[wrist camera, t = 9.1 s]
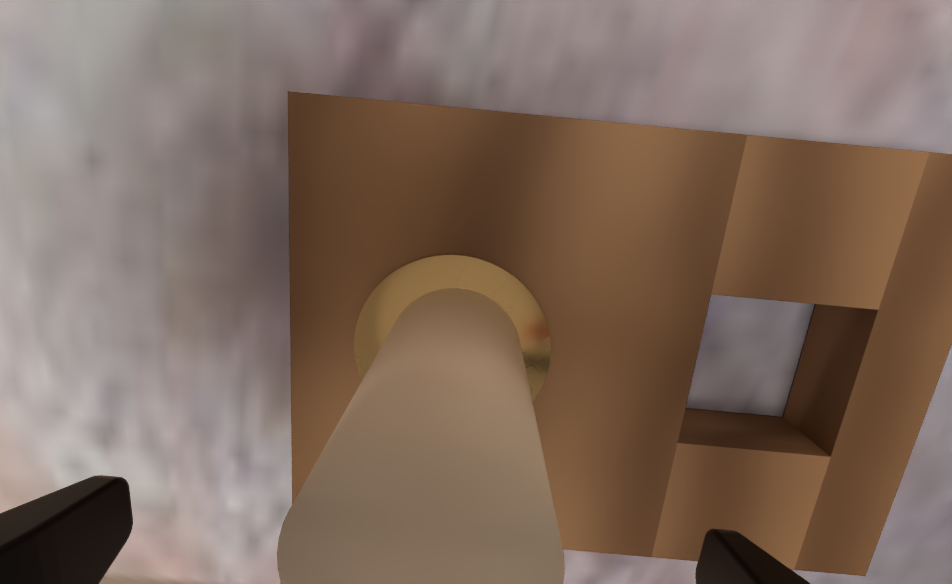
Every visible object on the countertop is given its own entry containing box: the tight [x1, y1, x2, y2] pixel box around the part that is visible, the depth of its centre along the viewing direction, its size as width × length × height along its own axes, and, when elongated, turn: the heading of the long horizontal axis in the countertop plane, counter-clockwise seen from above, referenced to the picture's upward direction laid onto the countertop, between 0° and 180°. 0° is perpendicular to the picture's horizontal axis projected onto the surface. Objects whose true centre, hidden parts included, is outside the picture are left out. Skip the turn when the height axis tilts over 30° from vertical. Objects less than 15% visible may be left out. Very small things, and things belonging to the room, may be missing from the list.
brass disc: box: [354, 254, 551, 402], centre depth 14 cm, size 6×6×1 cm
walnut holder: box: [288, 92, 952, 576], centre depth 16 cm, size 20×14×2 cm
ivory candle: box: [277, 288, 564, 584], centre depth 10 cm, size 4×4×8 cm
